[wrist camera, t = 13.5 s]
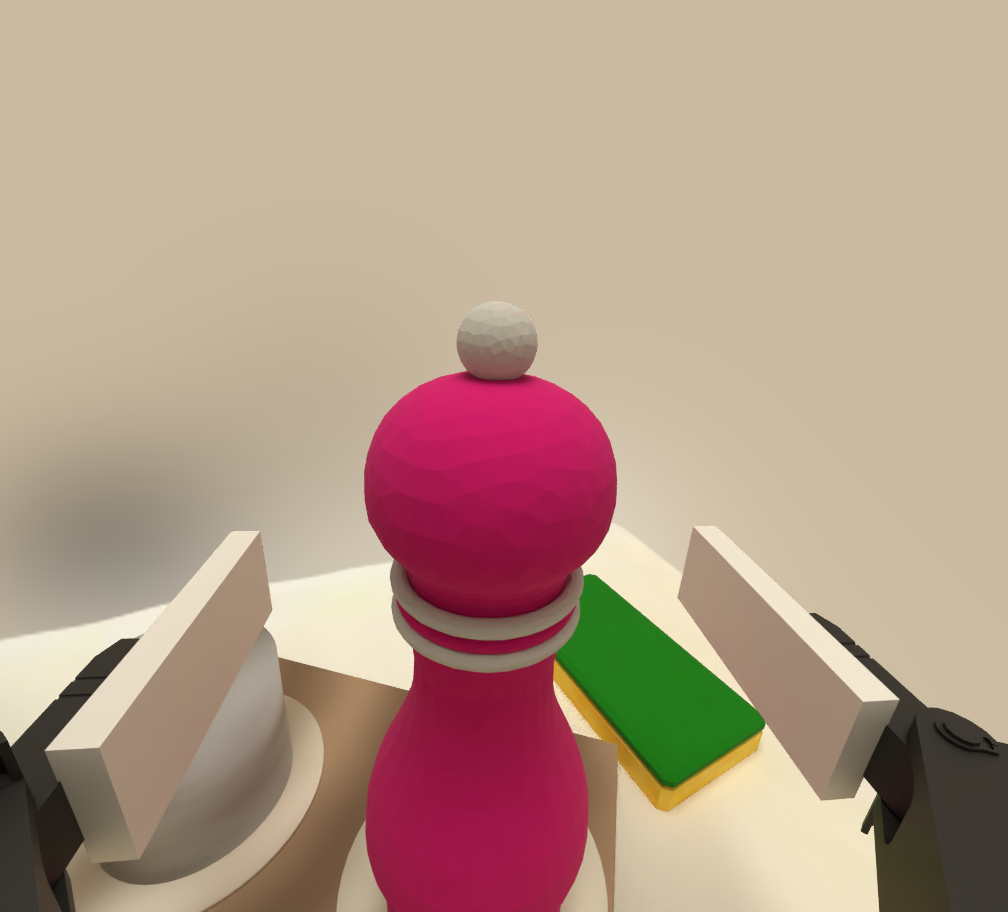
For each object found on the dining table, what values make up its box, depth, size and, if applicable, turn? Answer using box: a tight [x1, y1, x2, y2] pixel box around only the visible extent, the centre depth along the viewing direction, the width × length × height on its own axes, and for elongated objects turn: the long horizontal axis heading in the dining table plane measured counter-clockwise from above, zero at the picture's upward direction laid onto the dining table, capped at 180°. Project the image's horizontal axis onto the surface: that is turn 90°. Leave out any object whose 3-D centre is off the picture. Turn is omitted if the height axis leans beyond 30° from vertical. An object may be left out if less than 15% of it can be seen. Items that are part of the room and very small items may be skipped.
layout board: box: [66, 627, 618, 912], centre depth 18 cm, size 22×14×7 cm, turn 76°
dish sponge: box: [553, 574, 765, 812], centre depth 28 cm, size 7×14×2 cm, turn 29°
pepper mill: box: [364, 301, 617, 912], centre depth 14 cm, size 7×7×20 cm
